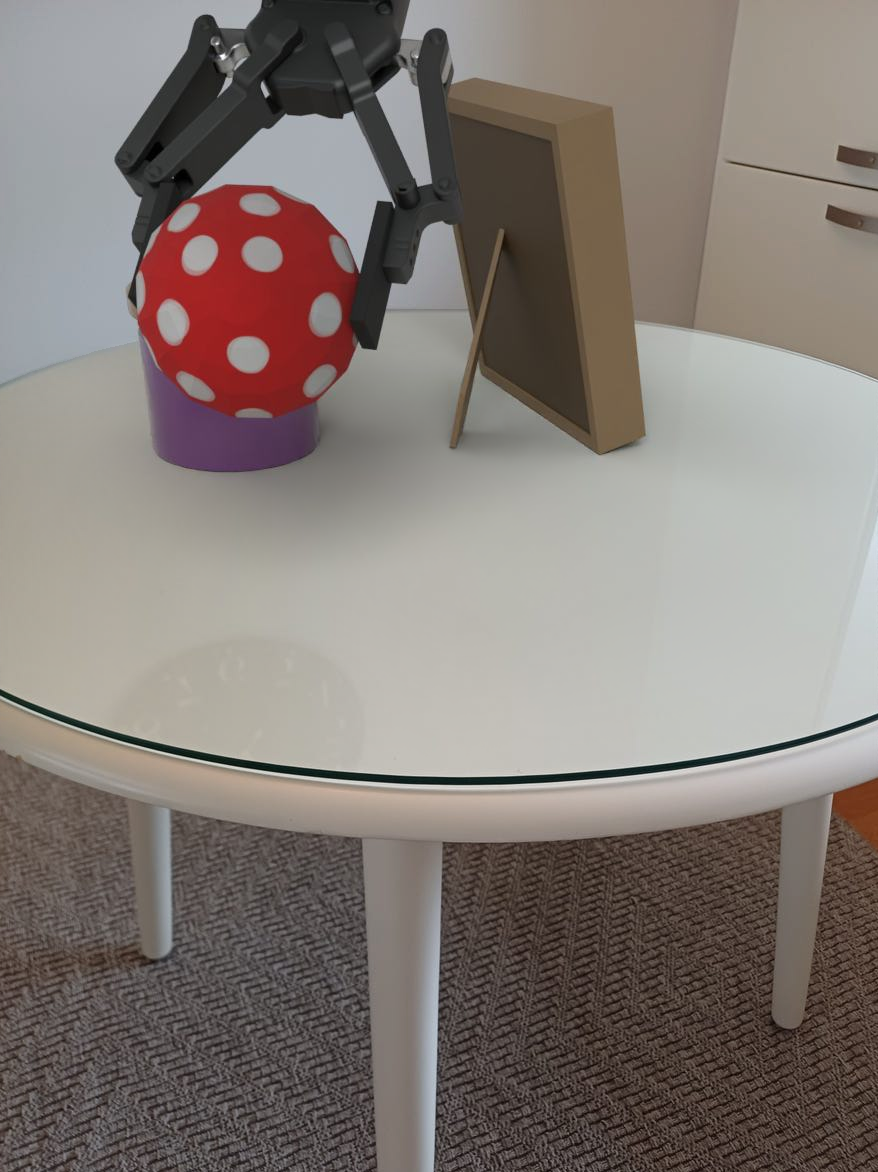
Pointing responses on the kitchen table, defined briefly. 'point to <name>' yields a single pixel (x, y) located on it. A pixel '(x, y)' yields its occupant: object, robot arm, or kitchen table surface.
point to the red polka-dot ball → (248, 301)
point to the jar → (219, 427)
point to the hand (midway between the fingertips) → (252, 323)
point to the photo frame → (546, 259)
